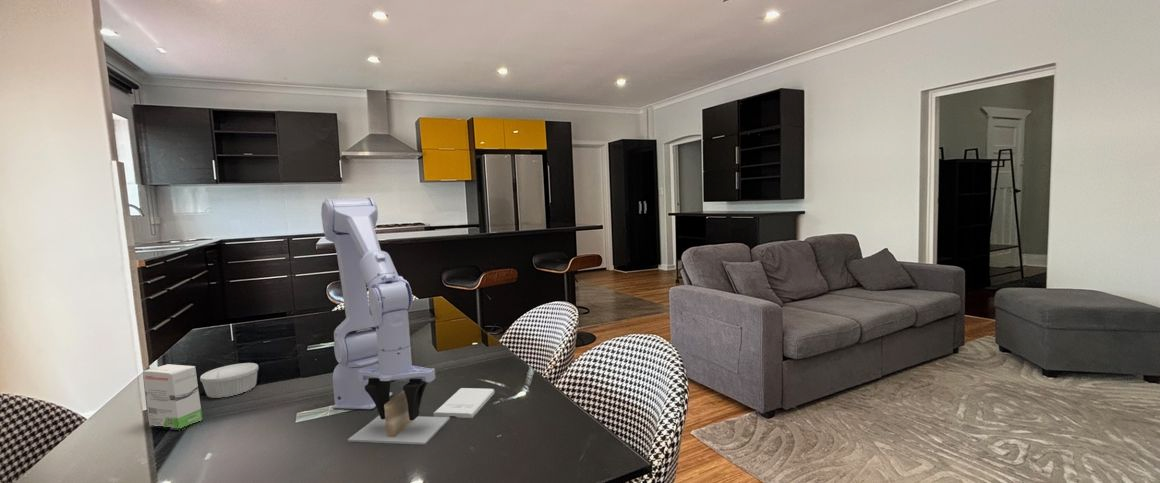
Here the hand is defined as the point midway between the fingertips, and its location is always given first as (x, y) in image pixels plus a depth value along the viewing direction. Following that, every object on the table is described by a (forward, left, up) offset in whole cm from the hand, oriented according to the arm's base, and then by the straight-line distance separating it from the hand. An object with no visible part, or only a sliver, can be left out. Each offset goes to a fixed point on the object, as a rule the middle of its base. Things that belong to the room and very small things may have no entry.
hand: (399, 417), depth 91 cm
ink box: (-49, -1, -3) cm, 49 cm away
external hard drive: (+8, +12, -3) cm, 15 cm away
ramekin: (-53, +16, -3) cm, 55 cm away
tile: (0, 0, -2) cm, 2 cm away
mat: (0, 0, -2) cm, 2 cm away
